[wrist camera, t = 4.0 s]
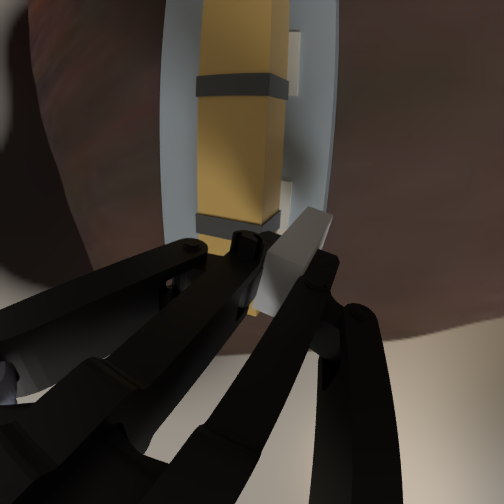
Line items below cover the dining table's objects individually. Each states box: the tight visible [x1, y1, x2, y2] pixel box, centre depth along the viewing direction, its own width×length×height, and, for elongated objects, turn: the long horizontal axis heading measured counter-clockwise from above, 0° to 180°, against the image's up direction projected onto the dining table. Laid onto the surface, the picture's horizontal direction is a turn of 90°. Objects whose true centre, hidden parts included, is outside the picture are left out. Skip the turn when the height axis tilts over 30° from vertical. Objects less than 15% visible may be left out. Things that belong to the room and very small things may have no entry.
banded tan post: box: [195, 0, 290, 316], centre depth 16 cm, size 22×4×5 cm, turn 178°
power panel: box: [160, 0, 339, 245], centre depth 20 cm, size 23×13×2 cm, turn 178°
